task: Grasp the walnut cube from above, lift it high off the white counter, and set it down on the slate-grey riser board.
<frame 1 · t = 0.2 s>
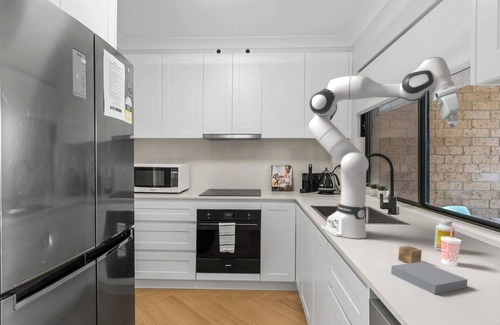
hand: (454, 126, 115), 52 cm above the worktop, tool tilted 20°, fingers open, 8 cm apart
supplement bottle: (443, 250, 117), on the worktop
beverage cup: (449, 263, 102), on the worktop
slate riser: (427, 280, 86), on the worktop
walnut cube: (409, 262, 101), on the worktop
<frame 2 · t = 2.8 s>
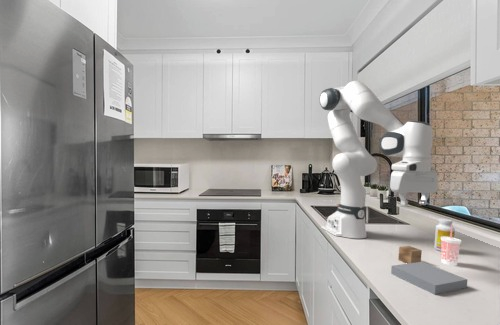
hand: (413, 205, 100), 21 cm above the worktop, tool pointing down, fingers open, 8 cm apart
nothing on the worktop moved.
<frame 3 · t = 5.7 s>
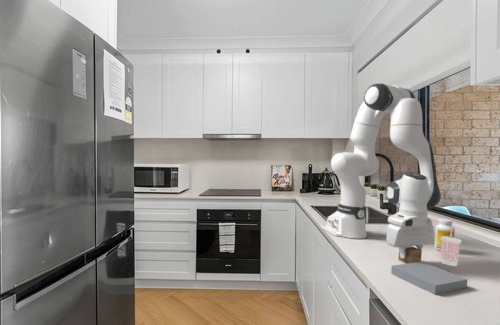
hand: (409, 257, 101), 2 cm above the worktop, tool pointing down, fingers closed on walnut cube, 5 cm apart
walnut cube: (409, 261, 101), on the worktop, touching gripper
everything else where it was.
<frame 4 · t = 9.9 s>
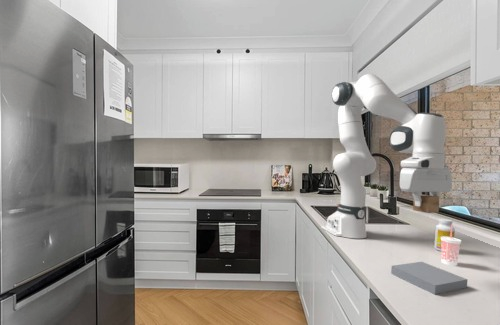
hand: (425, 205, 90), 22 cm above the worktop, tool pointing down, fingers closed on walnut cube, 5 cm apart
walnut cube: (425, 211, 90), point 20 cm above the worktop, touching gripper
everything else where it was.
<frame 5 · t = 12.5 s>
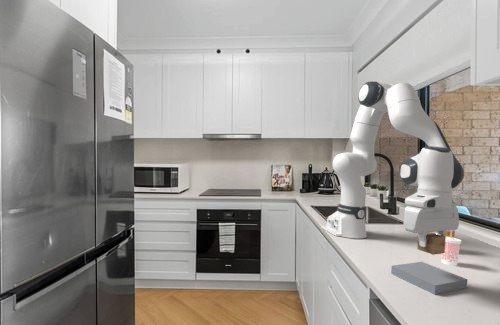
hand: (430, 245, 85), 11 cm above the worktop, tool pointing down, fingers closed on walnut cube, 5 cm apart
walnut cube: (430, 251, 85), point 9 cm above the worktop, touching gripper
everything else where it was.
when the fingers open (5 cm above the worktop, at t = 14.4 s): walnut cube drops 1 cm, resting on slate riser.
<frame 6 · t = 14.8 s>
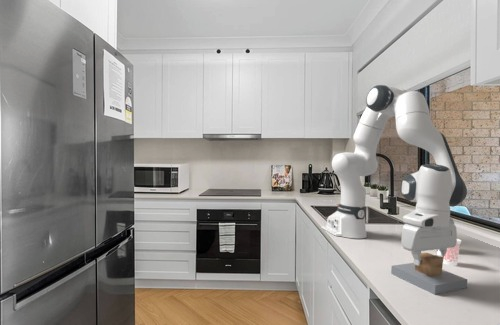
hand: (428, 263, 85), 5 cm above the worktop, tool pointing down, fingers open, 8 cm apart
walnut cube: (428, 272, 85), point 2 cm above the worktop, touching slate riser
everything else where it was.
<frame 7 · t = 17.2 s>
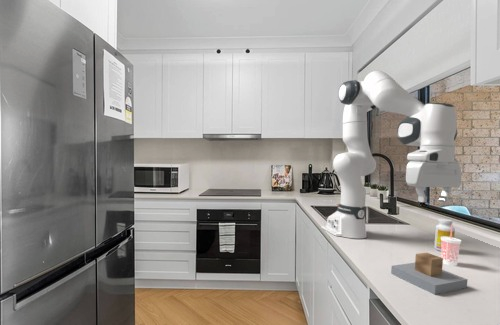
hand: (432, 201, 85), 24 cm above the worktop, tool pointing down, fingers open, 8 cm apart
nothing on the worktop moved.
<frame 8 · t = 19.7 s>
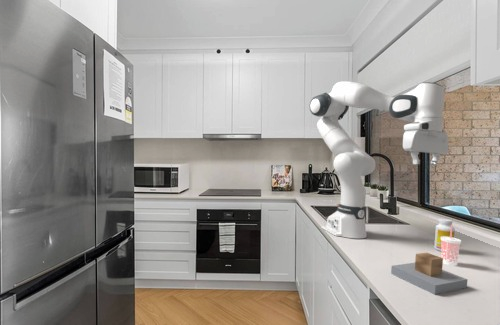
hand: (425, 164, 103), 35 cm above the worktop, tool pointing down, fingers open, 8 cm apart
nothing on the worktop moved.
at the end: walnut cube inside the target area on the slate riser (0.0 cm from its centre), point 2.5 cm above the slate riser's base; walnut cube tilted 0°; the gripper is holding nothing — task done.
